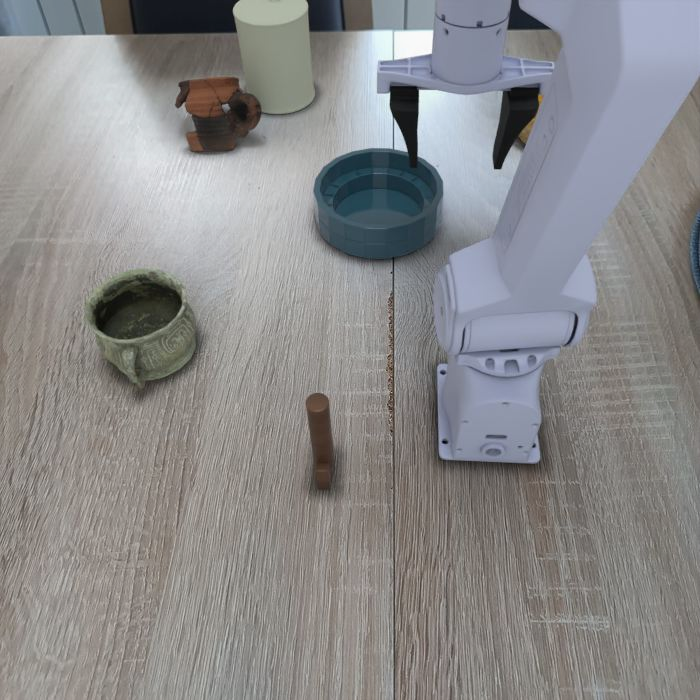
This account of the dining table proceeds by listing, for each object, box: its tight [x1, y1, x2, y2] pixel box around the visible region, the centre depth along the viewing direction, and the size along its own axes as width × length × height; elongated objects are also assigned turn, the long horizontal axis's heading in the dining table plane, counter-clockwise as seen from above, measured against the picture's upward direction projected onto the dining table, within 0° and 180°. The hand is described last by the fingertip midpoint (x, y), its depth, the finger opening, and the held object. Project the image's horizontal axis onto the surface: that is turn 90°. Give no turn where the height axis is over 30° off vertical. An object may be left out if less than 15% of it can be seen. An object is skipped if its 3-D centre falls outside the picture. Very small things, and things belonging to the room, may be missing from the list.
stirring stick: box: [305, 392, 336, 491], centre depth 48 cm, size 3×2×10 cm, turn 176°
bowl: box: [312, 147, 444, 260], centre depth 70 cm, size 13×13×4 cm
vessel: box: [83, 267, 197, 389], centre depth 58 cm, size 12×9×6 cm
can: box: [232, 0, 316, 115], centre depth 83 cm, size 9×9×12 cm
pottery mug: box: [174, 76, 263, 152], centre depth 81 cm, size 12×10×8 cm
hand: (454, 162), depth 61 cm, fingers open, 7 cm apart
